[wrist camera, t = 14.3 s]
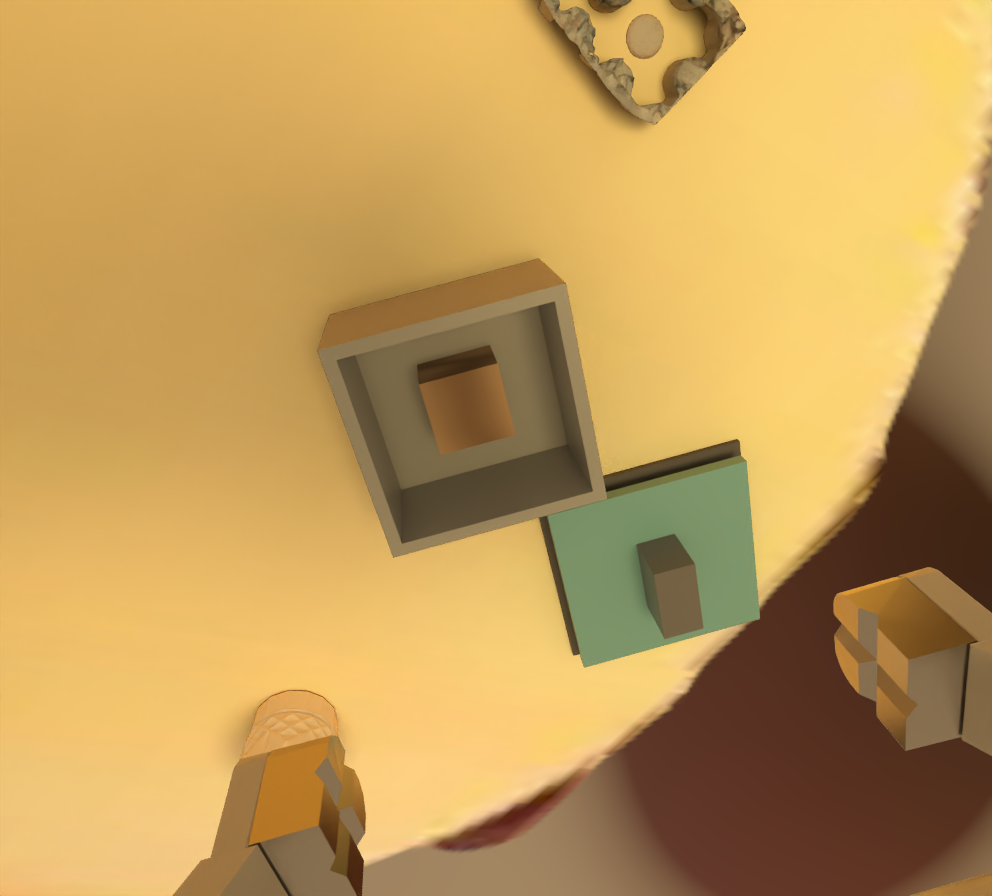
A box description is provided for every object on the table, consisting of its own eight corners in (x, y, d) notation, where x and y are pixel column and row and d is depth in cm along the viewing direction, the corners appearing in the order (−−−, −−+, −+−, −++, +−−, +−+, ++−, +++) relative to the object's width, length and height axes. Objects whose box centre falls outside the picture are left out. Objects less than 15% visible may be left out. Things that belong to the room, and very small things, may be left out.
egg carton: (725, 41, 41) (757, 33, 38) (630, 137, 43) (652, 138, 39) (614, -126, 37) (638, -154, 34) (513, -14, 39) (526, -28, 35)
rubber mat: (572, 652, 59) (573, 655, 59) (533, 495, 52) (534, 497, 52) (752, 602, 59) (754, 605, 59) (737, 439, 53) (739, 441, 52)
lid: (577, 649, 59) (596, 704, 53) (541, 501, 52) (559, 545, 47) (747, 602, 59) (784, 651, 53) (733, 448, 52) (773, 486, 47)
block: (437, 430, 48) (440, 455, 45) (417, 364, 46) (418, 384, 42) (506, 411, 48) (515, 434, 45) (489, 344, 46) (497, 363, 43)
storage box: (394, 496, 51) (393, 557, 44) (329, 314, 45) (317, 350, 38) (577, 446, 51) (607, 498, 44) (539, 258, 45) (565, 283, 38)
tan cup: (231, 735, 58) (200, 846, 49) (274, 670, 56) (250, 774, 47) (316, 764, 61) (302, 875, 52) (361, 703, 59) (354, 808, 50)
